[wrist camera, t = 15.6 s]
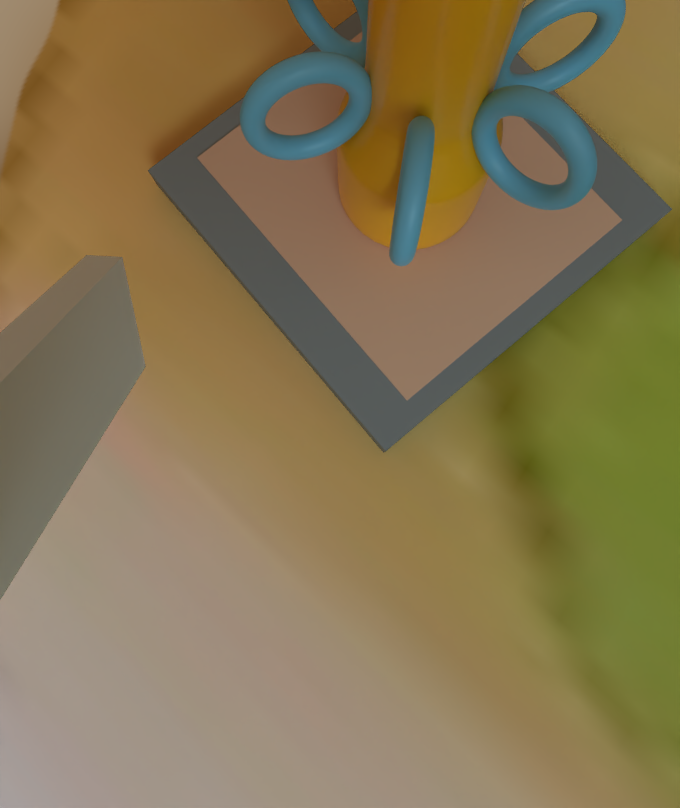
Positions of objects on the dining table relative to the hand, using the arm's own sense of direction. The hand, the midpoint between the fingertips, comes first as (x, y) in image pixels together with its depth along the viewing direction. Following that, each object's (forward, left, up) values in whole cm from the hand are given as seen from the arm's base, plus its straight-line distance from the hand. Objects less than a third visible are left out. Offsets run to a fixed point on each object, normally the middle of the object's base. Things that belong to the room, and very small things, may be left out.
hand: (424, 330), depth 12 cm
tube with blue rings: (-7, -7, -11) cm, 14 cm away
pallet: (-7, -7, -12) cm, 15 cm away
